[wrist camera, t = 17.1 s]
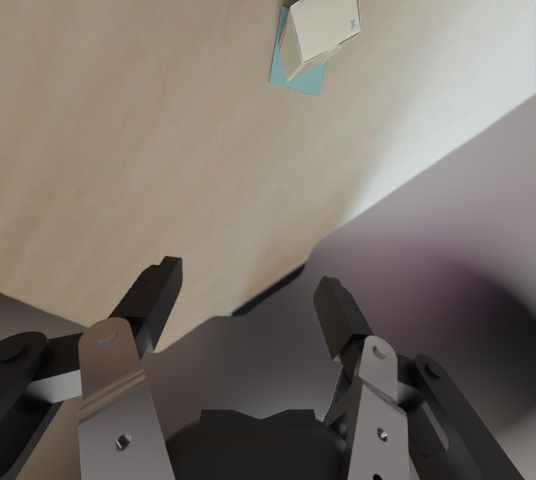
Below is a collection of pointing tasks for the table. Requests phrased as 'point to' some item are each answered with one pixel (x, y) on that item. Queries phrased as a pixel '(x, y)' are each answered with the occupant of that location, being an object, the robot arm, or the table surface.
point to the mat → (302, 83)
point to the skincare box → (316, 33)
